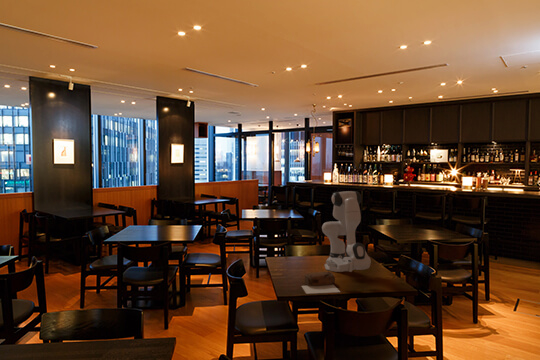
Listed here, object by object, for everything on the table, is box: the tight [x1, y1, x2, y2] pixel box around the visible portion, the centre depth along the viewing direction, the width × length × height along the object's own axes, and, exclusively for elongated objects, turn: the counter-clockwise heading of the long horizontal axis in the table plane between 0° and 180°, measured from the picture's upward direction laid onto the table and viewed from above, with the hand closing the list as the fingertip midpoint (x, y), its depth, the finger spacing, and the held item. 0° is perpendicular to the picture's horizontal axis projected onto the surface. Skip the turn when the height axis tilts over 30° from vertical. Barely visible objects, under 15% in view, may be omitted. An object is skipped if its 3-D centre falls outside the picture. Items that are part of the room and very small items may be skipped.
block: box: [303, 271, 336, 286], centre depth 244 cm, size 11×8×20 cm
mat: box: [301, 283, 341, 295], centre depth 234 cm, size 15×23×1 cm, turn 98°
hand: (327, 264), depth 234 cm, fingers closed
